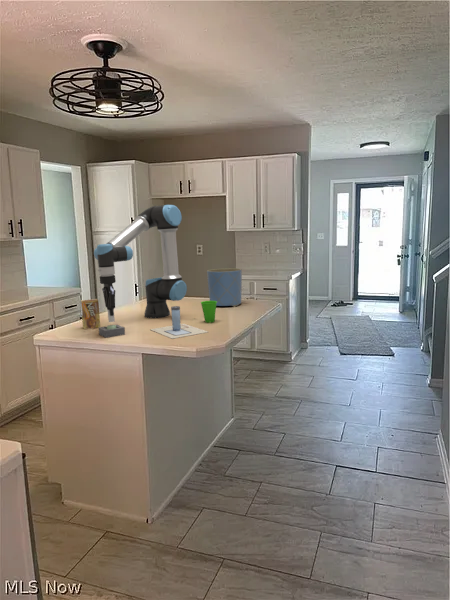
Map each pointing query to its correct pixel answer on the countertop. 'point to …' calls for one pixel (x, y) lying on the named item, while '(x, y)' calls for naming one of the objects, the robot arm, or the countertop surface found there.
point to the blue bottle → (176, 318)
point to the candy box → (90, 313)
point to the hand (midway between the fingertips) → (111, 321)
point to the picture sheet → (183, 331)
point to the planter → (225, 286)
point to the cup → (209, 310)
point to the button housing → (111, 331)
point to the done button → (111, 326)
